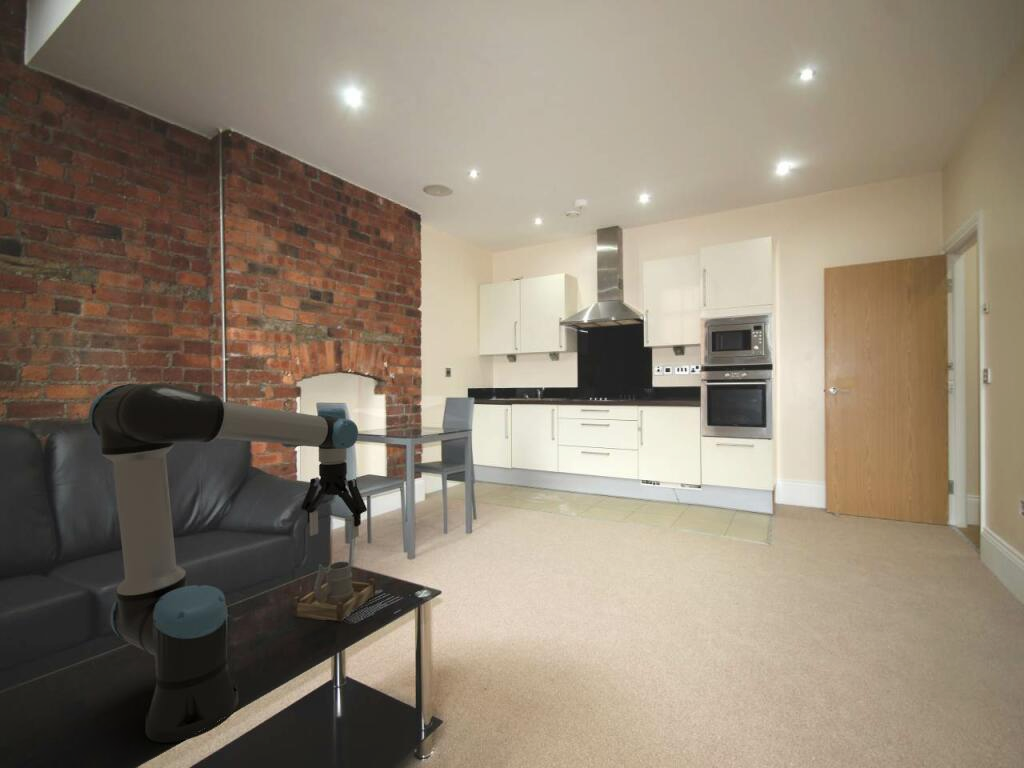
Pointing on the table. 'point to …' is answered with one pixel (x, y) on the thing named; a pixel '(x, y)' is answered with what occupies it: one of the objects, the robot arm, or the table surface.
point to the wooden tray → (327, 611)
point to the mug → (335, 583)
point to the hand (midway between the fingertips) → (334, 536)
